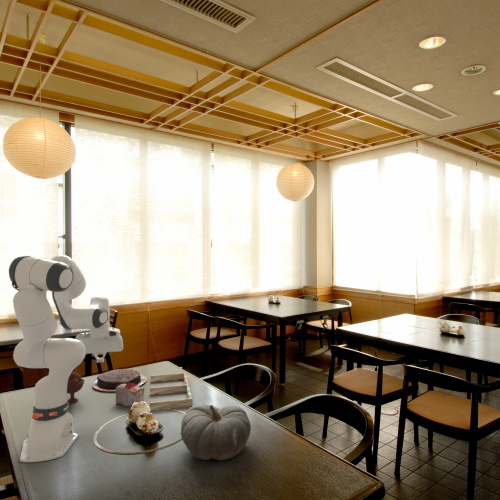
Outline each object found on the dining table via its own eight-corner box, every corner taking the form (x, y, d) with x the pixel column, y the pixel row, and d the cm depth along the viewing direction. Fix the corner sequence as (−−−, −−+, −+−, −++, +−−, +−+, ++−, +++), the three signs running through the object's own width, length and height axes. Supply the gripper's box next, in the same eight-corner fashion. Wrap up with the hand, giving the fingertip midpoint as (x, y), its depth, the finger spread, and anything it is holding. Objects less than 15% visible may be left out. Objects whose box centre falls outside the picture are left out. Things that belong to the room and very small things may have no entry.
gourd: (172, 432, 148) (180, 388, 148) (233, 432, 157) (241, 390, 156) (184, 475, 125) (193, 423, 124) (255, 472, 134) (264, 423, 133)
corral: (192, 406, 180) (192, 398, 180) (149, 411, 175) (149, 403, 175) (185, 378, 218) (185, 372, 218) (150, 381, 214) (150, 375, 214)
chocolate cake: (157, 380, 216) (157, 368, 216) (116, 397, 193) (116, 384, 193) (123, 372, 231) (123, 361, 231) (81, 387, 207) (80, 374, 207)
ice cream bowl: (78, 406, 181) (78, 373, 181) (55, 406, 182) (54, 374, 181) (88, 397, 192) (88, 367, 192) (66, 397, 192) (65, 367, 192)
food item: (147, 403, 184) (146, 382, 184) (135, 410, 177) (135, 388, 177) (125, 398, 190) (124, 378, 190) (112, 405, 183) (112, 383, 182)
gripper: (74, 334, 174) (74, 365, 174) (122, 332, 179) (122, 362, 179) (76, 332, 180) (77, 362, 180) (123, 329, 185) (123, 358, 185)
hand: (100, 362), depth 180 cm, fingers closed
